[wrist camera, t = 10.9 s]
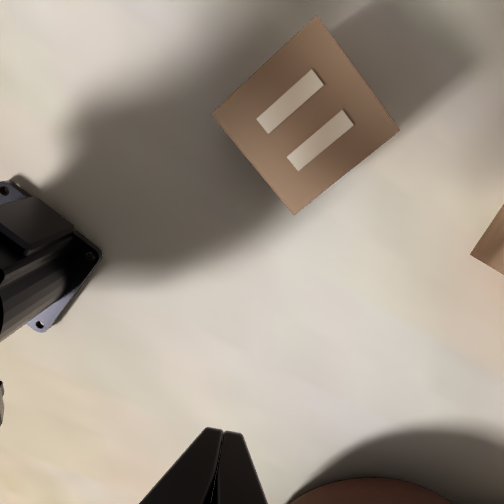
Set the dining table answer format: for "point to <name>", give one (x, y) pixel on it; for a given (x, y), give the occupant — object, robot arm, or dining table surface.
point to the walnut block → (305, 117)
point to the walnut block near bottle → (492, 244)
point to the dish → (371, 493)
